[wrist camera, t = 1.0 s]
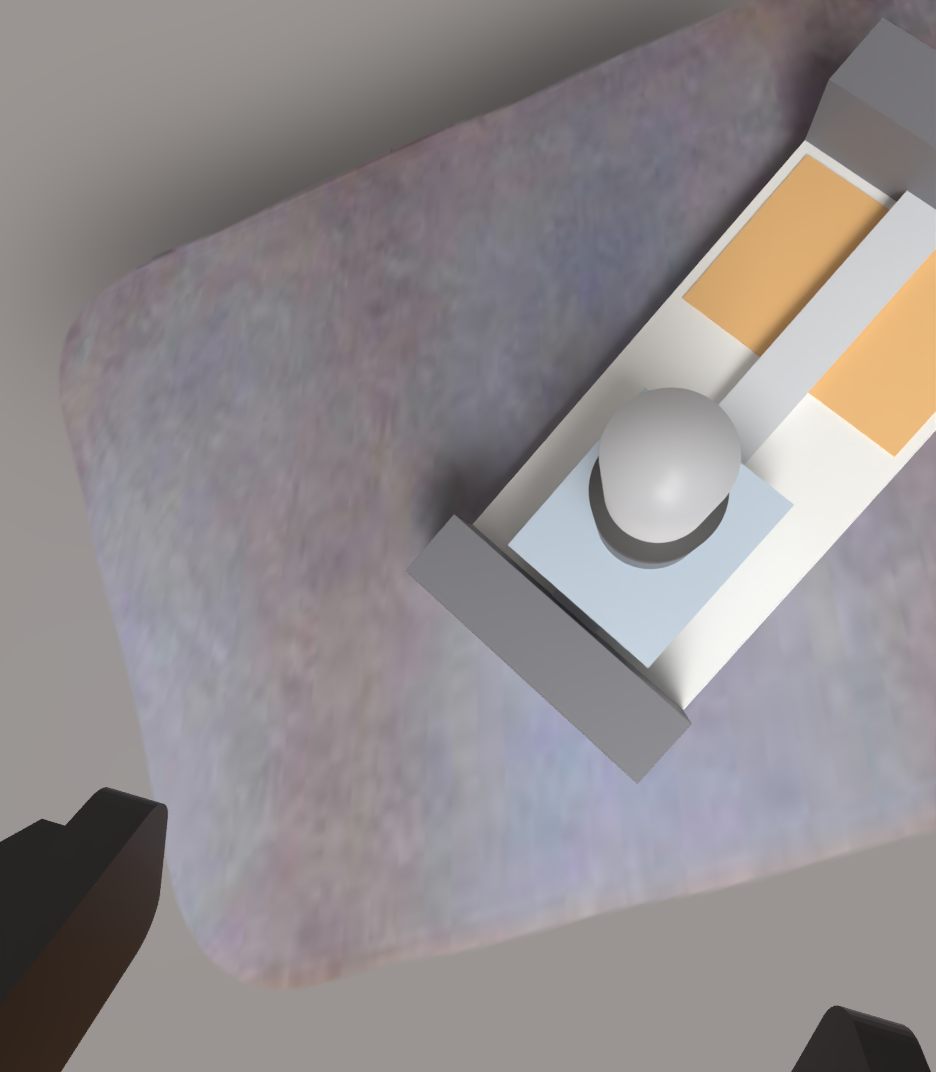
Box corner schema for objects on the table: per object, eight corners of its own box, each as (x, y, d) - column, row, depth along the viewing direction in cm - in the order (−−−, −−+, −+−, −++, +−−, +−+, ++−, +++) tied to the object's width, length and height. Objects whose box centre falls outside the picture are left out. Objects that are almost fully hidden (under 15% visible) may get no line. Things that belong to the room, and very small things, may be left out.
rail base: (842, 107, 35) (882, 17, 30) (1080, 261, 33) (1170, 194, 28) (436, 576, 37) (405, 570, 32) (634, 756, 35) (637, 783, 29)
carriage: (642, 406, 33) (665, 203, 16) (778, 514, 32) (953, 411, 15) (517, 550, 34) (416, 494, 17) (645, 662, 32) (672, 721, 15)
